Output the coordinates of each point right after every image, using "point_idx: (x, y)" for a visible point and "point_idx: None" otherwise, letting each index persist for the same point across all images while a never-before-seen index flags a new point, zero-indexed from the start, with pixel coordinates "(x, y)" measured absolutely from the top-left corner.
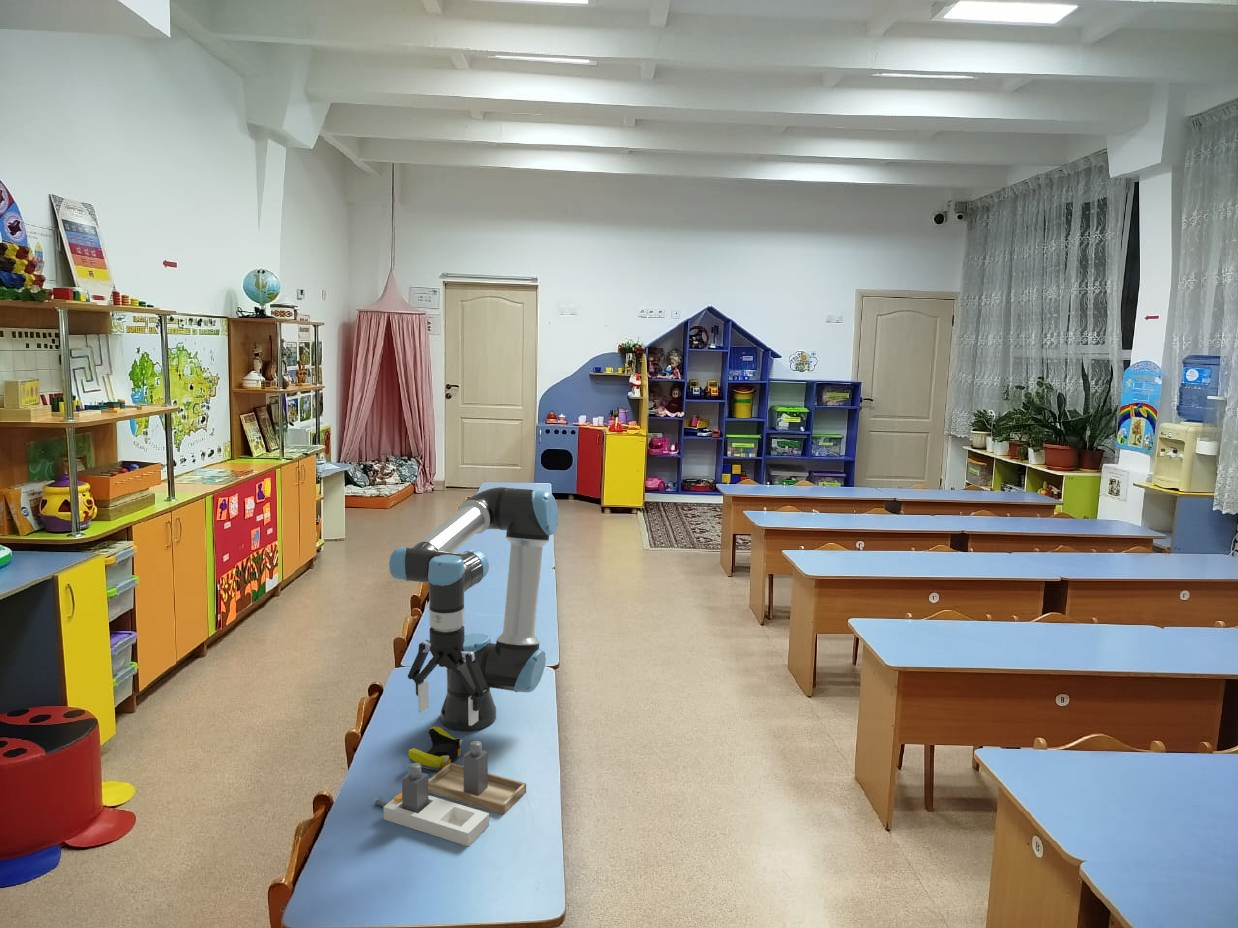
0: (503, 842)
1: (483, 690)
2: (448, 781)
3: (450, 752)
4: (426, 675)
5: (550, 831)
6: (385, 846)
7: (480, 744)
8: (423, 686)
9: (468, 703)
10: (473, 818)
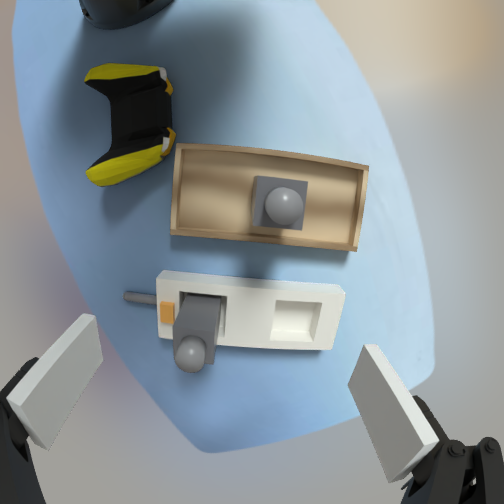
0: (370, 310)
1: (475, 477)
2: (201, 189)
3: (161, 117)
4: (22, 468)
5: (423, 261)
6: (211, 373)
7: (301, 205)
8: (46, 425)
9: (379, 457)
10: (325, 316)
